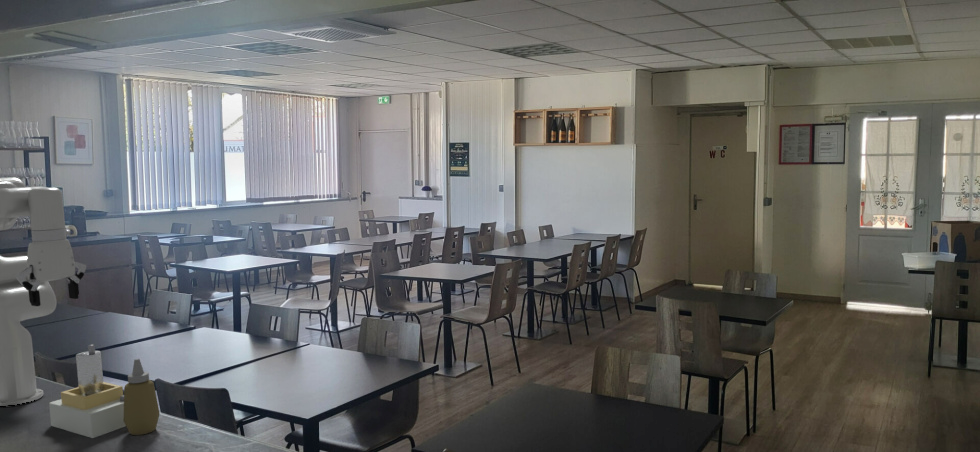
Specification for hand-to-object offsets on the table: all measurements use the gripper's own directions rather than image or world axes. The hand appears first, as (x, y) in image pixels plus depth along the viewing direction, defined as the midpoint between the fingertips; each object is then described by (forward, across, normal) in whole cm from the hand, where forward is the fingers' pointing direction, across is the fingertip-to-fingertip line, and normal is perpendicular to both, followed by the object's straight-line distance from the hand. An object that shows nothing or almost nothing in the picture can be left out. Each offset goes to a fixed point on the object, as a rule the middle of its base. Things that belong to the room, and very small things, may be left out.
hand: (55, 302), depth 190 cm
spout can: (+24, 0, +13) cm, 27 cm away
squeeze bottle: (+31, -2, +29) cm, 42 cm away
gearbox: (+30, 0, +13) cm, 33 cm away
